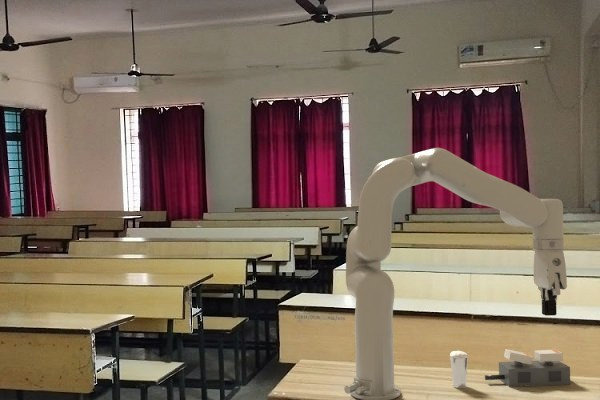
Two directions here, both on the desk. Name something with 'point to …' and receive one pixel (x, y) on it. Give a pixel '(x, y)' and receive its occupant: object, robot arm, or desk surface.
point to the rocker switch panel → (532, 373)
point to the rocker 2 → (548, 355)
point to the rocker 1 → (518, 356)
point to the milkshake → (459, 368)
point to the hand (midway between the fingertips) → (549, 314)
